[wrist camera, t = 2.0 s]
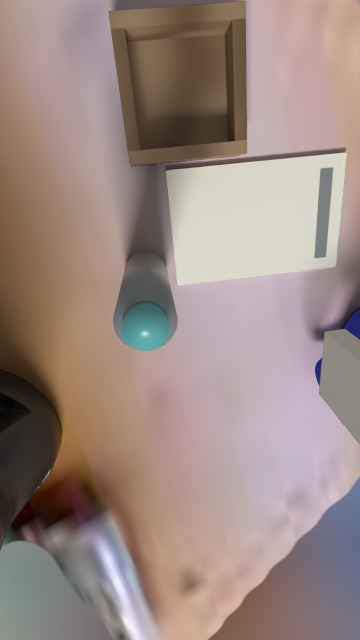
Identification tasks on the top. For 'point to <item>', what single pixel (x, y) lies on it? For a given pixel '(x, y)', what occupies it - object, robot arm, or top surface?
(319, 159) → the paper
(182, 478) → the top surface
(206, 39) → the tray
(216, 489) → the top surface
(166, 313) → the marker
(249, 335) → the top surface
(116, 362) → the top surface
